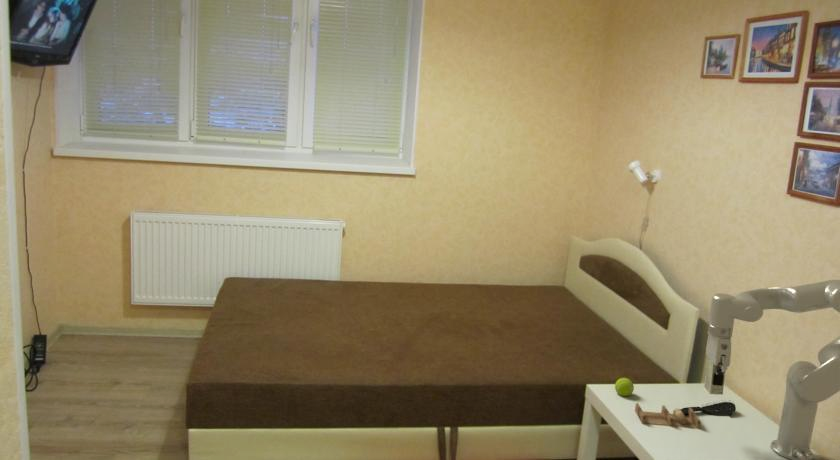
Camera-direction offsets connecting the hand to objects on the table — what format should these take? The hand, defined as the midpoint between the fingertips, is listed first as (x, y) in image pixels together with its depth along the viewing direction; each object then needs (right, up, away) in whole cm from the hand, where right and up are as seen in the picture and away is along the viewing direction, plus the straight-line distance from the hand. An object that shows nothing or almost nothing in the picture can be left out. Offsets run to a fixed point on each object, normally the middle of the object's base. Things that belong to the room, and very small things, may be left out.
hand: (713, 380), depth 223 cm
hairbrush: (+6, -17, +22) cm, 29 cm away
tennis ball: (-21, -14, +33) cm, 41 cm away
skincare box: (0, -4, +1) cm, 4 cm away
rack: (-11, -18, +14) cm, 25 cm away
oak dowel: (-6, -18, +13) cm, 23 cm away
